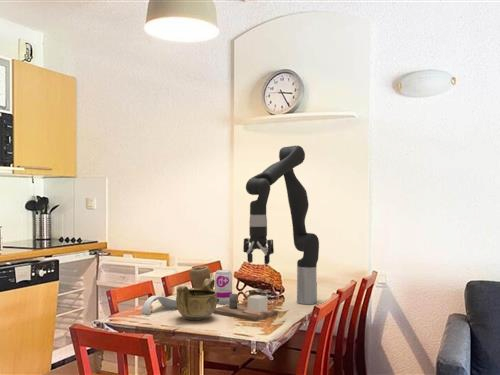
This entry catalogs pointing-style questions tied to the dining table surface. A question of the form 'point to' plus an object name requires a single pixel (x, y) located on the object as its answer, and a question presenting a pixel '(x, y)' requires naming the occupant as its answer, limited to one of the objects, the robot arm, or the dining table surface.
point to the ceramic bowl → (197, 301)
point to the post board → (242, 311)
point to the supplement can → (223, 286)
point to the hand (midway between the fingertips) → (258, 263)
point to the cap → (257, 304)
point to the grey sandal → (166, 302)
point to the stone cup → (199, 276)
